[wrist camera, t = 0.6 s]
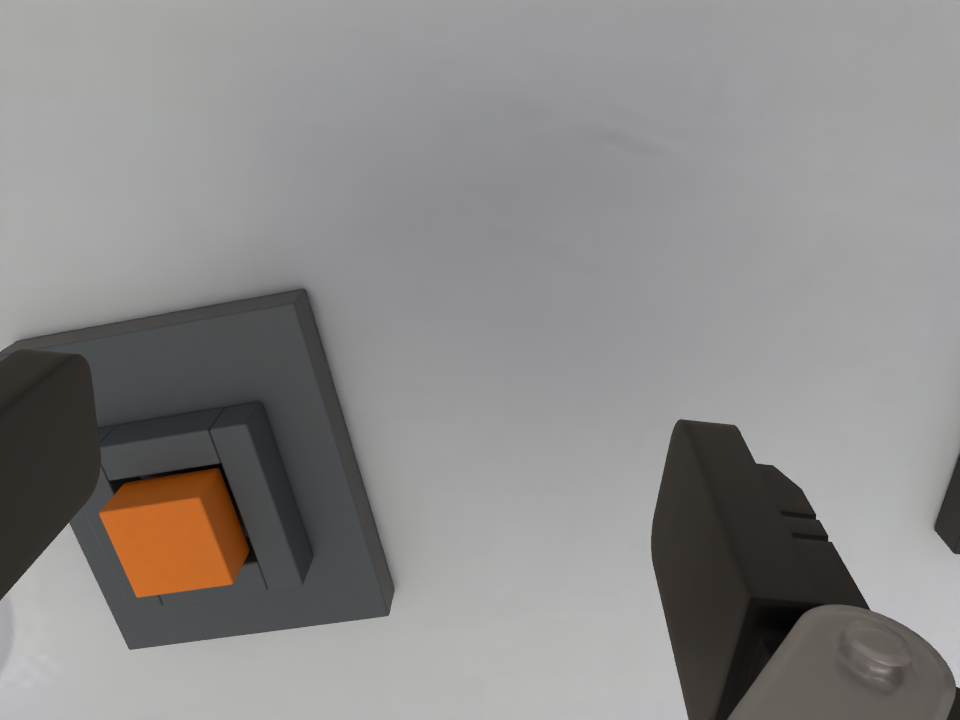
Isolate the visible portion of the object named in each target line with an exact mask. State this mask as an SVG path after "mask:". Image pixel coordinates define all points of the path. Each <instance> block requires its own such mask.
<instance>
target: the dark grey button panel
mask: <svg viewBox="0 0 960 720" xmlns="http://www.w3.org/2000/svg"><path fill="white" fill-rule="evenodd" d="M935 531H936V532H937V534H938V535H939V536H940V537H941V538H942V540H943V541H944V542H945V543H946V545H947V546H948V547H949V548H950V549H951V551H952V552H953V553H955V554H960V458H959V461H958V463H957V466H956V469H955V472H954V475H953V478H952V481H951V484H950V486H949V489H948V492H947V495H946V498H945V501H944V504H943V506H942V509H941V512H940V515H939V518H938V521H937V524H936V526H935Z"/></svg>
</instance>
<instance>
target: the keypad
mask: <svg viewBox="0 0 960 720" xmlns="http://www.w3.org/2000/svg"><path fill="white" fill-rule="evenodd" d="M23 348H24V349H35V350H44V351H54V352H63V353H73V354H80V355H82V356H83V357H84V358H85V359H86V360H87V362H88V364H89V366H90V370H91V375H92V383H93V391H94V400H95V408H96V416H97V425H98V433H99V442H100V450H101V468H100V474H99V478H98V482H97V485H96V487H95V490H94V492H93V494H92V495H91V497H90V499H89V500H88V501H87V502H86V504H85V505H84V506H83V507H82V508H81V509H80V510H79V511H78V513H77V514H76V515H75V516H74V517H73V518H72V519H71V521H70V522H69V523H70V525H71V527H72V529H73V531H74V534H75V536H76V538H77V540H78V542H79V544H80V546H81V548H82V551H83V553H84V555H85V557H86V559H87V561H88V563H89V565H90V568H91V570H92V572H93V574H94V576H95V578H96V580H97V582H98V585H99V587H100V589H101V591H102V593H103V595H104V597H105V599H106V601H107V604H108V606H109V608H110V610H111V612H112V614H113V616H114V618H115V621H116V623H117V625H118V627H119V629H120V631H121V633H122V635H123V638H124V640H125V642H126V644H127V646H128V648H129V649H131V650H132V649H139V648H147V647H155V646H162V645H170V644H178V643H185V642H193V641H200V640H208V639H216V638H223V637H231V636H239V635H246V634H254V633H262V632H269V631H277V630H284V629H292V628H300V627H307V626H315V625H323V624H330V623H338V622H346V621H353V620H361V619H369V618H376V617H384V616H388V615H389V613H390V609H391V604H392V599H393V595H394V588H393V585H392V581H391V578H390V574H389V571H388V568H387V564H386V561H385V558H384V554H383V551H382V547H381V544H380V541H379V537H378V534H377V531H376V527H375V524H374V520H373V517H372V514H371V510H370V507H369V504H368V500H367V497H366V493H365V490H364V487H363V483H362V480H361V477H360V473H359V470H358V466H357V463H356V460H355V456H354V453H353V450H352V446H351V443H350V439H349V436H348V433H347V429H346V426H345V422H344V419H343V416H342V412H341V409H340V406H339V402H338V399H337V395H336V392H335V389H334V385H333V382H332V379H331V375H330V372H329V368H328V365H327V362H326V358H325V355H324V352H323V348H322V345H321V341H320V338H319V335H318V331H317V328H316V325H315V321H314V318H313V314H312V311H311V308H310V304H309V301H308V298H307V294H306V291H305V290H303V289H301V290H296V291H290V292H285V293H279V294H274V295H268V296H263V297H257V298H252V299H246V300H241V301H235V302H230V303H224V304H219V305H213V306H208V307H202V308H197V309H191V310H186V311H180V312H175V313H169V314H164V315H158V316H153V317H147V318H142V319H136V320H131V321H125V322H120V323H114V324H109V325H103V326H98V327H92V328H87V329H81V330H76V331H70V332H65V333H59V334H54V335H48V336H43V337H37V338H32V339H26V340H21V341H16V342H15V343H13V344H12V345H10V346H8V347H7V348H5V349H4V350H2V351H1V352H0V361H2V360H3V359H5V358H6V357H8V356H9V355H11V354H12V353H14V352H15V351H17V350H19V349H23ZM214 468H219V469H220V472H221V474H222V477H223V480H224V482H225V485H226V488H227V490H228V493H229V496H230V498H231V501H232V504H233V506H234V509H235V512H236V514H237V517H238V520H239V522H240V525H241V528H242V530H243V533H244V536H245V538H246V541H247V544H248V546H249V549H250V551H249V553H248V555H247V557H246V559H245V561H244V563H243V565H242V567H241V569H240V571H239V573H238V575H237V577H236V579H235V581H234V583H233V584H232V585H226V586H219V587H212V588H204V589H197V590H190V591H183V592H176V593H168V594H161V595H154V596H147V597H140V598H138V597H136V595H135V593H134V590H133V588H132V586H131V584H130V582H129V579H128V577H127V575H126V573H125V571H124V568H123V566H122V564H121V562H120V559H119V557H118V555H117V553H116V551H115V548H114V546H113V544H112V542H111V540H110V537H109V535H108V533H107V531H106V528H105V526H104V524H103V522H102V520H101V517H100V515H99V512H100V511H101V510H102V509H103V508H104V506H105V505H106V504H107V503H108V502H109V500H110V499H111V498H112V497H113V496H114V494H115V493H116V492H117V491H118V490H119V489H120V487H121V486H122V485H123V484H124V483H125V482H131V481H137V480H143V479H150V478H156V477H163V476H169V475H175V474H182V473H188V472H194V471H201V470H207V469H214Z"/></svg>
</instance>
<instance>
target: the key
mask: <svg viewBox="0 0 960 720" xmlns="http://www.w3.org/2000/svg"><path fill="white" fill-rule="evenodd" d="M99 515H100V517H101V520H102V522H103V524H104V526H105V528H106V531H107V533H108V535H109V537H110V540H111V542H112V544H113V546H114V548H115V551H116V553H117V555H118V557H119V559H120V562H121V564H122V566H123V568H124V571H125V573H126V575H127V577H128V579H129V582H130V584H131V586H132V588H133V590H134V593H135V595H136V597H138V598H140V597H147V596H154V595H161V594H168V593H176V592H183V591H190V590H197V589H204V588H212V587H219V586H226V585H232V584H233V583H234V581H235V579H236V577H237V575H238V573H239V571H240V569H241V567H242V565H243V563H244V561H245V559H246V557H247V555H248V553H249V551H250V549H249V546H248V544H247V541H246V538H245V536H244V533H243V530H242V528H241V525H240V522H239V520H238V517H237V514H236V512H235V509H234V506H233V504H232V501H231V498H230V496H229V493H228V490H227V488H226V485H225V482H224V480H223V477H222V474H221V472H220V469H219V468H214V469H207V470H201V471H194V472H188V473H182V474H175V475H169V476H163V477H156V478H150V479H143V480H137V481H131V482H125V483H124V484H123V485H122V486H121V487H120V489H119V490H118V491H117V492H116V493H115V494H114V496H113V497H112V498H111V499H110V500H109V502H108V503H107V504H106V505H105V506H104V508H103V509H102V510H101V511H100V512H99Z"/></svg>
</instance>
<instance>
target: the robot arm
mask: <svg viewBox="0 0 960 720" xmlns="http://www.w3.org/2000/svg"><path fill="white" fill-rule="evenodd" d="M100 468H101V450H100V442H99V433H98V425H97V416H96V408H95V400H94V391H93V383H92V375H91V370H90V366H89V364H88V362H87V360H86V359H85V358H84V357H83V356H82V355H80V354H73V353H63V352H54V351H44V350H35V349H24V348H23V349H19V350H17V351H15V352H14V353H12V354H11V355H9V356H8V357H6V358H5V359H3V360H2V361H0V600H1V599H2V598H3V597H4V596H5V594H6V593H7V592H8V591H9V590H10V589H11V588H12V587H13V585H14V584H15V583H16V582H17V581H18V580H19V579H20V577H21V576H22V575H23V574H24V573H25V572H26V571H27V569H28V568H29V567H30V566H31V565H32V564H33V563H34V562H35V560H36V559H37V558H38V557H39V556H40V555H41V554H42V552H43V551H44V550H45V549H46V548H47V547H48V546H49V544H50V543H51V542H52V541H53V540H54V539H55V538H56V536H57V535H58V534H59V533H60V532H61V531H62V530H63V529H64V527H65V526H66V525H67V524H68V523H69V522H70V521H71V519H72V518H73V517H74V516H75V515H76V514H77V513H78V511H79V510H80V509H81V508H82V507H83V506H84V505H85V504H86V502H87V501H88V500H89V499H90V497H91V495H92V494H93V492H94V490H95V487H96V485H97V482H98V478H99V474H100ZM651 551H652V561H653V566H654V571H655V575H656V579H657V584H658V588H659V592H660V597H661V601H662V605H663V610H664V614H665V618H666V623H667V627H668V632H669V636H670V640H671V645H672V649H673V653H674V658H675V662H676V666H677V671H678V675H679V679H680V684H681V688H682V693H683V697H684V701H685V706H686V710H687V714H688V719H689V720H960V688H958V687H956V685H955V680H954V677H953V674H952V672H951V670H950V668H949V666H948V665H947V663H946V661H945V660H944V659H943V658H942V657H941V655H940V654H939V653H938V652H937V651H936V650H935V649H934V648H933V647H932V646H931V645H930V644H929V643H928V642H927V641H926V640H924V639H923V638H922V637H921V636H919V635H918V634H917V633H915V632H914V631H912V630H911V629H909V628H907V627H906V626H904V625H902V624H901V623H899V622H897V621H895V620H893V619H891V618H889V617H886V616H884V615H882V614H879V613H876V612H873V611H871V610H870V608H869V606H868V605H867V603H866V601H865V599H864V598H863V596H862V594H861V592H860V591H859V589H858V587H857V585H856V584H855V582H854V580H853V578H852V577H851V575H850V573H849V571H848V570H847V568H846V566H845V564H844V563H843V561H842V559H841V557H840V556H839V554H838V552H837V550H836V549H835V547H834V545H833V543H832V542H828V535H827V533H826V531H825V529H824V528H823V526H822V524H821V522H820V521H819V520H816V514H815V512H814V510H813V508H812V507H811V505H810V503H809V501H808V500H807V498H806V496H805V494H804V493H803V491H802V489H801V488H800V487H798V486H797V485H796V484H795V483H794V482H792V481H791V480H790V479H789V478H788V477H786V476H785V475H784V474H783V473H782V472H780V471H779V470H778V469H777V468H776V467H774V466H773V465H764V464H756V463H755V461H754V459H753V457H752V455H751V453H750V451H749V449H748V447H747V445H746V443H745V441H744V439H743V437H742V435H741V433H740V431H739V429H738V428H737V427H736V426H735V425H729V424H719V423H710V422H701V421H691V420H682V419H680V420H678V421H677V423H676V424H675V426H674V429H673V432H672V436H671V440H670V444H669V449H668V453H667V458H666V462H665V467H664V472H663V476H662V481H661V485H660V490H659V494H658V499H657V503H656V508H655V512H654V518H653V524H652V536H651Z"/></svg>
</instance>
